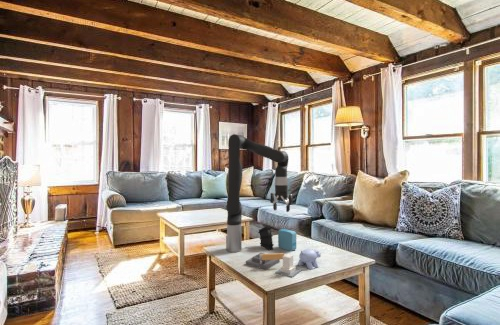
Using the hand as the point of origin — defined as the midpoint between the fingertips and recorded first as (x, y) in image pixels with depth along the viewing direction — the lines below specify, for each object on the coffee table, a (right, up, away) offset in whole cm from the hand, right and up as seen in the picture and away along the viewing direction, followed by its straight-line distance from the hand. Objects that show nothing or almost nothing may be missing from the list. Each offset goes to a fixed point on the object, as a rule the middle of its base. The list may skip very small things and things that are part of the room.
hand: (281, 210), depth 175 cm
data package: (+6, -28, +17) cm, 33 cm away
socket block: (-12, -29, -9) cm, 32 cm away
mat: (+1, -29, -22) cm, 36 cm away
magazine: (-8, -28, +19) cm, 35 cm away
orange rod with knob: (-7, -24, -15) cm, 29 cm away
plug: (+1, -28, -22) cm, 36 cm away
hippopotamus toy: (+15, -29, -12) cm, 34 cm away
